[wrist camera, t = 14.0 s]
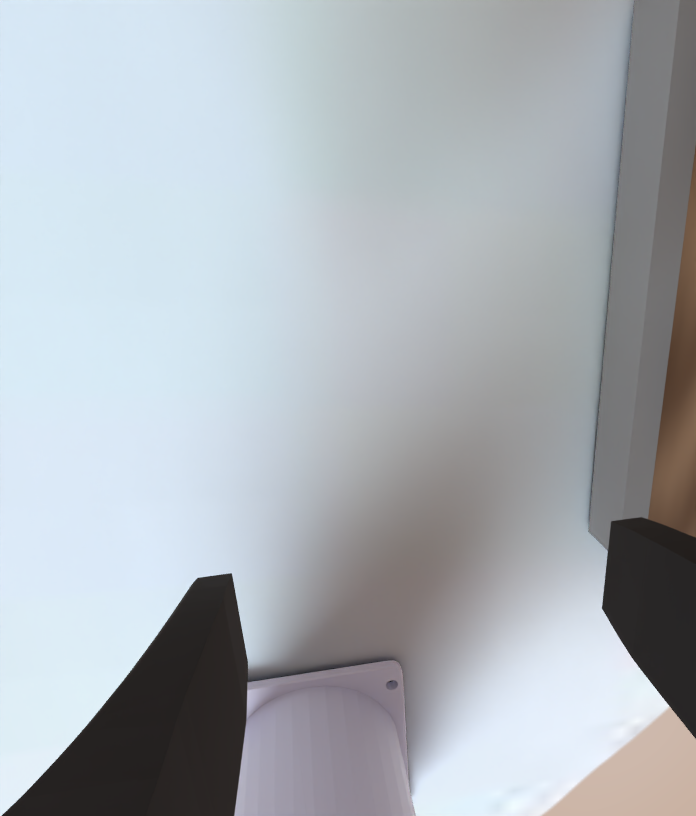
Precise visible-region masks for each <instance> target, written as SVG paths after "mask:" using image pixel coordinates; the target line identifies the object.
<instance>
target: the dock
mask: <svg viewBox="0 0 696 816" xmlns="http://www.w3.org/2000/svg"><path fill="white" fill-rule="evenodd" d="M695 147H696V0H636V1H634V11H633V23H632V34H631V46H630V58H629V69H628V81H627V92H626V104H625V115H624V127H623V138H622V150H621V161H620V173H619V184H618V196H617V208H616V219H615V231H614V242H613V254H612V265H611V277H610V288H609V300H608V311H607V323H606V334H605V346H604V357H603V369H602V381H601V392H600V404H599V415H598V427H597V438H596V450H595V461H594V473H593V484H592V496H591V507H590V519H589V531H588V532H589V533H590V534H591V535H592V536H593V537H594V538H596V539H597V540H598V541H599V542H600V543H601V544H602V545H603V546H604V547H605V548H606V549H607V550H608V546H609V537H610V527H611V521H616V520H623V519H631V518H638V517H643V518H646V519H648V515H649V507H650V499H651V491H652V483H653V476H654V468H655V460H656V452H657V444H658V436H659V429H660V421H661V413H662V405H663V397H664V389H665V382H666V374H667V366H668V358H669V350H670V342H671V335H672V327H673V319H674V311H675V303H676V295H677V288H678V280H679V272H680V264H681V256H682V248H683V241H684V233H685V225H686V217H687V209H688V201H689V194H690V186H691V178H692V170H693V162H694V154H695Z"/></svg>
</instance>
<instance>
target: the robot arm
mask: <svg viewBox="0 0 696 816" xmlns="http://www.w3.org/2000/svg"><path fill="white" fill-rule="evenodd" d="M602 609H603V611H604V613H605V614H606V616H607V618H608V619H609V621H610V623H611V625H612V626H613V628H614V630H615V631H616V633H617V635H618V636H619V638H620V640H621V641H622V643H623V644H624V646H625V647H626V649H627V651H628V652H629V654H630V655H631V657H632V658H633V660H634V661H635V662H636V664H637V665H638V666H639V668H640V669H641V670H642V672H643V673H644V674H645V675H646V677H647V678H648V679H649V680H650V682H651V683H652V684H653V686H654V687H655V688H656V689H657V691H658V692H659V693H660V695H661V696H662V697H663V698H664V700H665V701H666V702H667V703H668V705H669V706H670V707H671V708H672V710H673V711H674V712H675V713H676V714H677V716H678V717H679V718H680V719H681V721H682V722H683V723H684V724H685V726H686V727H687V728H688V730H689V731H690V732H691V733H692V735H693V736H694V737H695V738H696V538H695V537H693V536H691V535H688V534H686V533H683V532H681V531H678V530H676V529H673V528H671V527H668V526H666V525H663V524H660V523H658V522H655V521H652V520H649V519H646V518H643V517H638V518H631V519H623V520H616V521H611V527H610V537H609V546H608V556H607V566H606V576H605V585H604V595H603V605H602ZM247 679H248V661H247V655H246V650H245V644H244V639H243V633H242V628H241V622H240V616H239V611H238V605H237V600H236V594H235V589H234V583H233V578H232V573H230V574H223V575H216V576H208V577H201V578H197V579H196V580H195V582H194V583H193V584H192V585H191V587H190V588H189V590H188V591H187V593H186V594H185V596H184V597H183V599H182V600H181V602H180V603H179V605H178V606H177V607H176V609H175V610H174V612H173V613H172V615H171V616H170V618H169V619H168V621H167V622H166V623H165V625H164V626H163V628H162V629H161V631H160V632H159V633H158V635H157V636H156V638H155V639H154V640H153V642H152V643H151V644H150V646H149V647H148V649H147V650H146V651H145V653H144V654H143V655H142V657H141V658H140V659H139V661H138V662H137V663H136V665H135V666H134V667H133V669H132V670H131V671H130V673H129V674H128V675H127V677H126V678H125V679H124V681H123V682H122V683H121V684H120V685H119V687H118V688H117V689H116V690H115V692H114V693H113V694H112V695H111V697H110V698H109V699H108V700H107V701H106V703H105V704H104V705H103V706H102V708H101V709H100V710H99V711H98V713H97V714H96V715H95V716H94V717H93V719H92V720H91V721H90V722H89V724H88V725H87V726H86V727H85V728H84V729H83V730H82V732H81V733H80V734H79V735H78V736H77V737H76V739H75V740H74V741H73V742H72V743H71V744H70V745H69V746H68V748H67V749H66V750H65V751H64V752H63V753H62V754H61V755H60V756H59V758H58V759H57V760H56V761H55V762H54V763H53V764H52V765H51V766H50V767H49V768H48V769H47V770H46V772H45V773H44V774H43V775H42V776H41V777H40V778H39V779H38V780H37V781H36V782H35V783H34V784H33V785H32V786H31V787H30V789H29V790H28V791H27V792H26V793H25V794H24V795H23V796H22V797H21V798H20V799H19V800H18V801H17V802H16V803H15V804H13V805H12V806H11V807H10V808H9V809H8V810H7V811H6V812H5V813H4V814H3V815H2V816H416V815H415V810H414V806H413V802H412V797H411V793H410V788H409V777H408V759H407V740H406V722H405V704H404V686H403V672H402V668H401V665H400V664H399V663H398V662H397V661H394V660H388V661H382V662H375V663H369V664H362V665H356V666H350V667H343V668H337V669H330V670H324V671H317V672H311V673H304V674H298V675H292V676H285V677H279V678H272V679H266V680H259V681H253V682H247ZM391 680H394V681H393V682H388V681H391Z"/></svg>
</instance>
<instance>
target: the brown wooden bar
mask: <svg viewBox="0 0 696 816" xmlns="http://www.w3.org/2000/svg"><path fill="white" fill-rule="evenodd" d="M648 519H649V520H652V521H655V522H658V523H660V524H663V525H666V526H668V527H671V528H673V529H676V530H678V531H681V532H683V533H686V534H688V535H691V536H693V537H695V538H696V147H695V154H694V162H693V170H692V178H691V186H690V194H689V201H688V209H687V217H686V225H685V233H684V241H683V248H682V256H681V264H680V272H679V280H678V288H677V295H676V303H675V311H674V319H673V327H672V335H671V342H670V350H669V358H668V366H667V374H666V382H665V389H664V397H663V405H662V413H661V421H660V429H659V436H658V444H657V452H656V460H655V468H654V476H653V483H652V491H651V499H650V507H649V515H648Z"/></svg>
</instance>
